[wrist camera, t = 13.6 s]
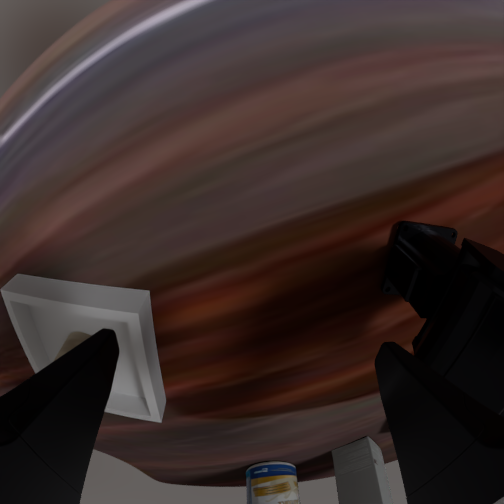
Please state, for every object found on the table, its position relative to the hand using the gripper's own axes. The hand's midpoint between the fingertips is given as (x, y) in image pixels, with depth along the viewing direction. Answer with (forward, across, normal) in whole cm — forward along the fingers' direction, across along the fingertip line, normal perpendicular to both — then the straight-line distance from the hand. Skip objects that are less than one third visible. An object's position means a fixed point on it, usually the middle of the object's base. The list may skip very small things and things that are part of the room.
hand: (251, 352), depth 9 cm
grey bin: (+13, +15, +14) cm, 24 cm away
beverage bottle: (+13, -7, +41) cm, 44 cm away
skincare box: (+13, -20, +36) cm, 43 cm away
